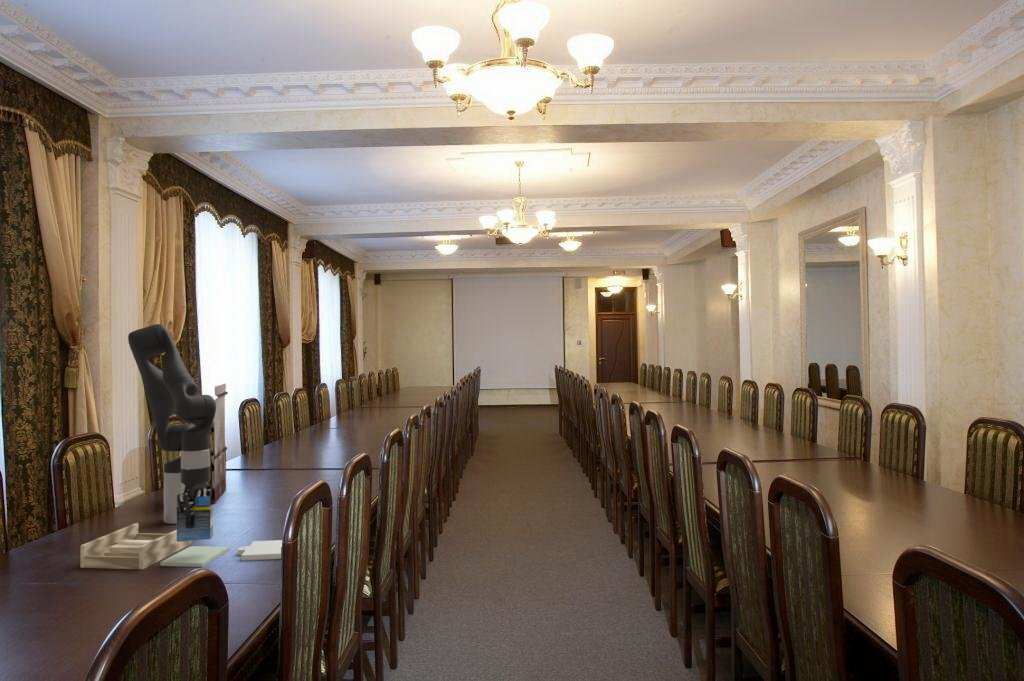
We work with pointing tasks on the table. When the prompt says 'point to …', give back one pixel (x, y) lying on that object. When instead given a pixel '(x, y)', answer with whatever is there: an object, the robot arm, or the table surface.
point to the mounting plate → (261, 550)
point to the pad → (195, 556)
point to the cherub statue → (217, 444)
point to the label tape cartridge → (196, 522)
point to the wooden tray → (147, 556)
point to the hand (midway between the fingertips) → (195, 525)
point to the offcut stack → (127, 548)
